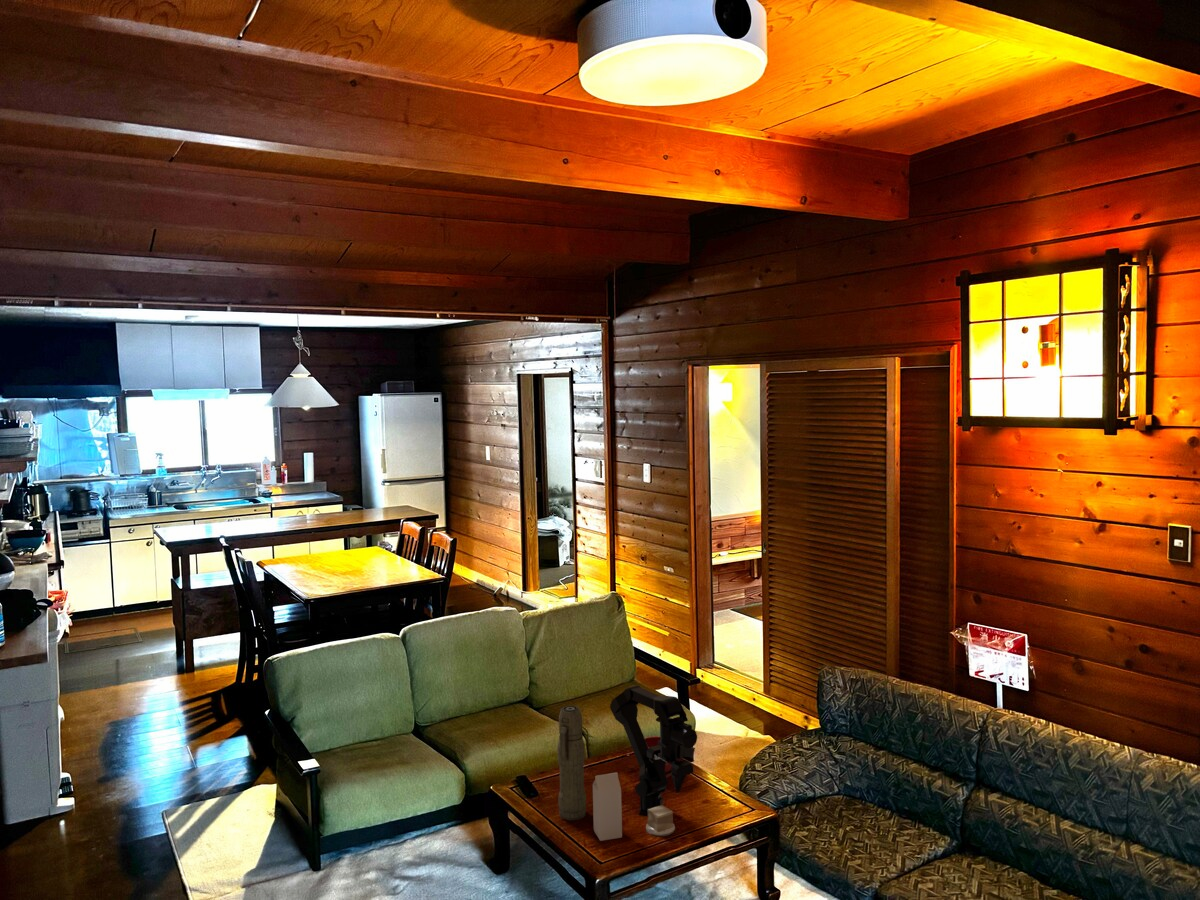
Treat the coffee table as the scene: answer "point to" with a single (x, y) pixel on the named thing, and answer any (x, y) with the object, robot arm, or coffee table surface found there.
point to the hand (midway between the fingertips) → (670, 786)
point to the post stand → (661, 833)
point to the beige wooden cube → (660, 818)
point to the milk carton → (607, 807)
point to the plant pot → (654, 742)
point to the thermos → (571, 764)
